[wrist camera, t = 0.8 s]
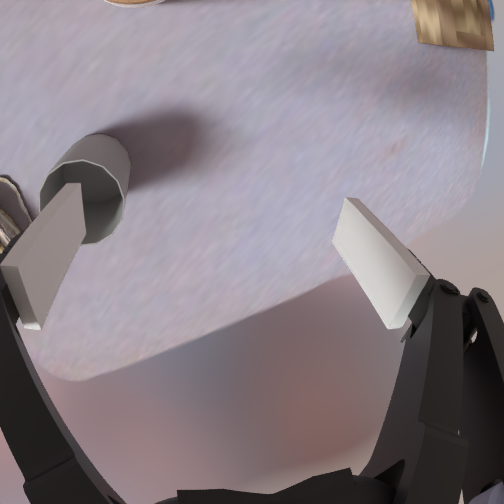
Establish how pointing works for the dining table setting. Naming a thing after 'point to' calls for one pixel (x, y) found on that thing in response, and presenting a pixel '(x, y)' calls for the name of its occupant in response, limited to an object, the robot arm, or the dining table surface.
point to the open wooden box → (454, 23)
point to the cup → (93, 183)
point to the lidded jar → (134, 3)
